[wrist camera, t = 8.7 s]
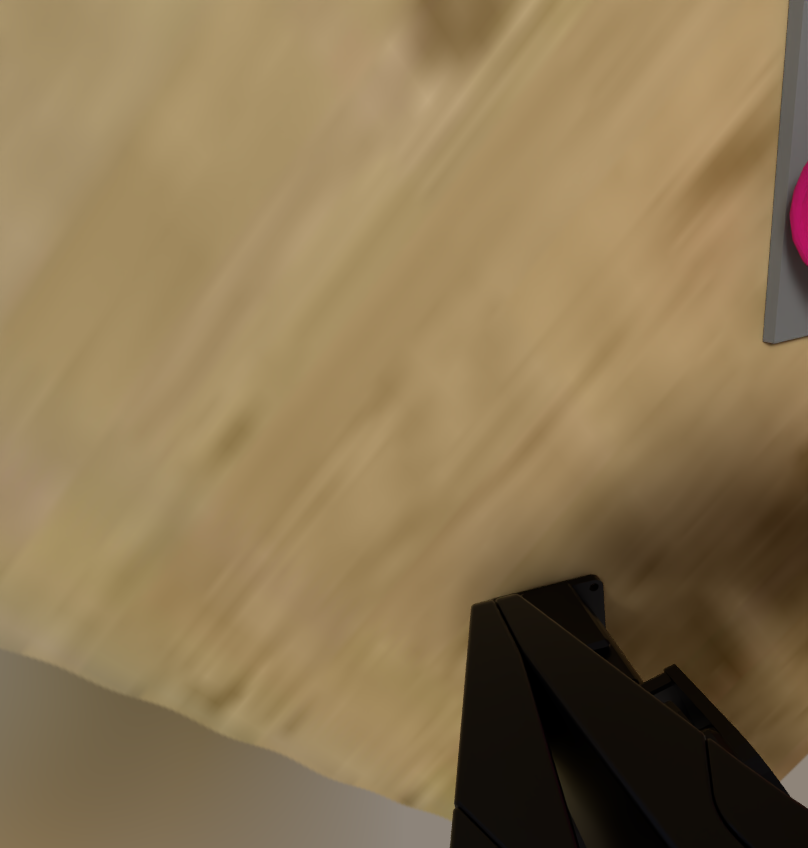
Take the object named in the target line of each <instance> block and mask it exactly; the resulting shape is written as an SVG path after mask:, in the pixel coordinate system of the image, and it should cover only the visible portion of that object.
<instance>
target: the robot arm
mask: <svg viewBox="0 0 808 848" xmlns="http://www.w3.org/2000/svg"><path fill="white" fill-rule="evenodd" d="M592 584H593V585H592ZM591 585H592V586H591ZM454 805H455V809H454V810H453V819H452V831H451V842H450V848H808V808H806V807H805V806H803V805H802V804H800V803H799V802H797V801H796V800H794V799H792V798H791V797H790V795H789V794H788V792H787V791H786V790H785V788H784V787H783V786H782V784H781V783H780V781H779V780H778V779H777V777H776V776H775V775H774V773H773V772H772V771H771V769H770V768H769V767H768V766H767V764H766V763H765V762H764V761H763V759H762V758H761V757H760V756H759V754H758V753H757V752H756V751H755V750H754V748H753V747H752V746H751V745H750V744H749V742H748V741H747V740H746V739H745V738H744V737H743V736H742V735H741V733H740V732H739V731H738V730H737V729H736V728H735V727H734V726H733V725H732V724H731V723H730V722H729V721H728V720H727V718H726V717H725V716H724V715H723V714H722V713H721V712H720V711H719V710H718V709H717V708H716V707H715V706H714V705H713V704H712V703H711V702H710V701H709V700H708V698H707V697H706V696H705V695H704V694H703V693H702V692H701V691H700V690H699V689H698V688H697V687H696V686H695V685H694V684H693V683H692V682H691V681H690V679H689V678H688V677H687V676H686V675H685V674H684V673H683V672H682V671H681V670H680V669H679V668H678V667H677V666H676V665H675V664H673V665H671V666H669V667H667V668H666V669H664V672H663V673H661V674H659V675H658V676H656V677H654V678H652V679H650V680H648V681H646V682H643V681H642V679H641V678H640V676H639V675H638V674H637V672H636V671H635V669H634V668H633V667H632V665H631V664H630V662H629V661H628V660H627V658H626V657H625V655H624V654H623V653H622V651H621V650H620V648H619V647H618V645H617V644H616V643H615V641H614V640H613V638H612V637H611V636H610V634H609V633H608V631H607V630H606V626H605V610H604V593H603V583H602V582H601V580H600V579H599V578H598V577H597V576H596V575H588V576H584V577H580V578H577V579H573V580H569V581H565V582H561V583H557V584H553V585H549V586H545V587H541V588H537V589H533V590H529V591H526V592H522V593H518V594H511V595H507V596H503V597H499V598H497V599H494V600H488V601H484V602H480V603H476V604H473V605H472V607H471V616H470V627H469V639H468V650H467V662H466V674H465V685H464V697H463V708H462V720H461V731H460V743H459V754H458V766H457V777H456V789H455V801H454Z"/></svg>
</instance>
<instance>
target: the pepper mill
mask: <svg viewBox="0 0 808 848" xmlns="http://www.w3.org/2000/svg"><path fill="white" fill-rule="evenodd" d="M789 215H790V224H791V232H792V240H793V242H794V244H795V246H796V248H797V250H798V253H799V255H800V257H801V259H802V261H803V262H804V263H805V264H806V265H807V266H808V161H807V163H806V164H805V166H804V167H803V170H802V172H801V174H800V177H799V179H798V182H797V184H796V186H795V189H794V191H793V197H792V203H791V208H790V214H789Z"/></svg>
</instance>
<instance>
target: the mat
mask: <svg viewBox="0 0 808 848" xmlns="http://www.w3.org/2000/svg"><path fill="white" fill-rule="evenodd" d="M807 161H808V0H789V13H788V26H787V39H786V52H785V65H784V77H783V90H782V103H781V116H780V129H779V141H778V154H777V167H776V180H775V193H774V206H773V218H772V231H771V244H770V257H769V270H768V282H767V295H766V308H765V321H764V334H763V342H769V343H778V342H783V341H787V340H791V339H795V338H800V337H804V336H808V266H807V265H806V264H805V263H804V262H803V261H802V259H801V257H800V255H799V253H798V250H797V248H796V246H795V244H794V242H793V240H792V232H791V224H790V215H789V214H790V208H791V203H792V197H793V191H794V189H795V186H796V184H797V182H798V179H799V177H800V174H801V172H802V170H803V167H804V166H805V164H806V163H807Z"/></svg>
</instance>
